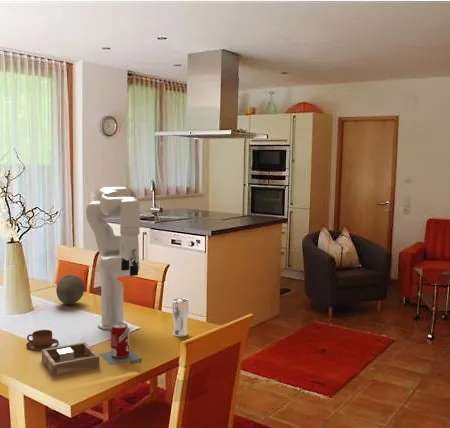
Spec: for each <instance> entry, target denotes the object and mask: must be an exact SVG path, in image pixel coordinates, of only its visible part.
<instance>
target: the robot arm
mask: <svg viewBox="0 0 450 428" xmlns="http://www.w3.org/2000/svg"><path fill="white" fill-rule="evenodd" d="M96 197H97V200H96V201H92V202H89V203H88V204H87V206H86V209H85V213H86V214H85V215H86V220H87V223H88V224H89V227H90V228H91V230H92V232H93V233H94V234H93V235H94V237H95V241H96V246H97V249H98V253H99V254H100V256H101V257H102V258H101V259H100V260H99V263H98V267H99V273H100V282H101V283H100V284H101V287H100V288H101V290H100V291H101V320H100V321H98V323H97V327H98V328H100V329H102V330H110V331H111V329H112V327H113V324H115V323H126V324H128V323H127V320H126V319H124V285H123V283H122V282H121V281H120V279H118V278H120V277H129V276H130V277H135V276H139V273H140V269H141V267H140V247H139V245H140V244H139V236H140V229H141V228H140V224H141V223H140V221H141V219H140V218H141V217H140V216H141V215H140V214H141V211H140V210H141V207H140V206H141V205H140V204H141V203H140V201H139V200H138V199H136V197H134V196H133V197H132V196H131V192H130V190H129V189H128V188H127V187H125V186H106V187H105V186H104V187H103V188H100V189H99V190H98V192H97V194H96ZM117 219H120V220H119V222H120V225H119V226H120V228H119V229H120V231H119V235H115V233H114V229H113V227H112V226H111V225H110V224H109V223H108V222H107V221H105V220H117Z"/></svg>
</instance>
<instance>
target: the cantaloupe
mask: <svg viewBox="0 0 450 428" xmlns="http://www.w3.org/2000/svg"><path fill="white" fill-rule="evenodd" d="M55 292H56V295H57V299H58V300H59V301H60V302H61V303H62V304H64V305H67V306H68V305H69V306H70V305H71V306H72V305H73V304H76V303H77V302H79V301H80V300H81V299H82V297H83V296H84V293H85V284H84V281H83V279H82V278H81V277H80V276H78V275H75V274H69V275H64V276H62V277H61V278H60V279H59V280H58V282H57V285H56V291H55Z"/></svg>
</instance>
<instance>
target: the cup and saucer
mask: <svg viewBox="0 0 450 428" xmlns="http://www.w3.org/2000/svg"><path fill="white" fill-rule="evenodd" d="M30 337H31V338H32V340H31V339H29V338H30ZM26 340H27V341H28V342H27V343H26V344H25V345H26V348H27V349H29V350H30V351H37V352H39V351H41V352H42V350H43V349H49V348H55V347H58V345H59V343H60V342H59V340H58V339H56V338H53V331H52V330H50V329H40V330H39V329H38V330H35V331H33V332H32V334H28V335H27V337H26ZM54 344H55V345H54ZM51 345H53V346H51ZM50 346H51V347H50Z"/></svg>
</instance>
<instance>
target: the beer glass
mask: <svg viewBox="0 0 450 428" xmlns="http://www.w3.org/2000/svg"><path fill="white" fill-rule="evenodd" d="M189 307H190V306H189V299H188V298H181V297H178V298H174V299H173V300H172V306H171V310H172V312H171V313H172V320H173V325H174V326H173V333H172V335H173V336H174V337H179V338H183V337H186V336H187V335H188V330H187V324H188V319H189V310H190V308H189Z"/></svg>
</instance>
